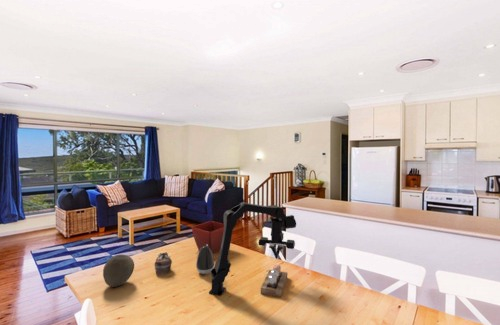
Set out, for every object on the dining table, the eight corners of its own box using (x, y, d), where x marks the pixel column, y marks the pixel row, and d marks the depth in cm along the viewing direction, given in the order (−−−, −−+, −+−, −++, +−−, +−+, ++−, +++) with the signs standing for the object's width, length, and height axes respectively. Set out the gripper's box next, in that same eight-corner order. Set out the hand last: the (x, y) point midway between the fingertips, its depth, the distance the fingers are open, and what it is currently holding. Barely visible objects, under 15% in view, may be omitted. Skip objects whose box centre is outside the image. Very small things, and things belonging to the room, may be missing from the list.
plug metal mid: (277, 282, 124) (277, 273, 124) (270, 281, 126) (270, 272, 125) (279, 278, 128) (279, 269, 128) (271, 277, 129) (271, 268, 129)
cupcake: (152, 270, 144) (151, 253, 144) (168, 265, 150) (168, 249, 149) (157, 276, 136) (156, 259, 136) (174, 271, 142) (174, 254, 142)
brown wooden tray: (281, 297, 116) (281, 291, 116) (260, 293, 119) (260, 287, 119) (287, 277, 135) (287, 272, 134) (269, 275, 138) (269, 269, 137)
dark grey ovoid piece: (216, 268, 146) (216, 242, 146) (211, 276, 136) (211, 249, 135) (199, 267, 147) (199, 242, 147) (193, 276, 137) (193, 249, 136)
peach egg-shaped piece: (279, 277, 130) (279, 268, 129) (272, 276, 131) (272, 267, 131) (281, 273, 133) (281, 265, 133) (273, 272, 135) (273, 264, 134)
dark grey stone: (121, 293, 120) (120, 263, 120) (96, 290, 123) (95, 260, 123) (139, 278, 134) (139, 251, 134) (117, 276, 137) (116, 249, 137)
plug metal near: (275, 288, 119) (275, 278, 119) (267, 286, 120) (267, 277, 120) (277, 284, 123) (277, 274, 123) (269, 282, 124) (269, 273, 124)
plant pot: (210, 257, 161) (210, 232, 161) (191, 250, 173) (190, 226, 172) (229, 248, 177) (229, 225, 176) (211, 242, 188) (210, 220, 187)
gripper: (296, 226, 136) (296, 254, 137) (263, 224, 142) (263, 250, 142) (293, 233, 125) (293, 263, 126) (258, 229, 131) (258, 258, 132)
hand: (276, 258), depth 132 cm, fingers closed
